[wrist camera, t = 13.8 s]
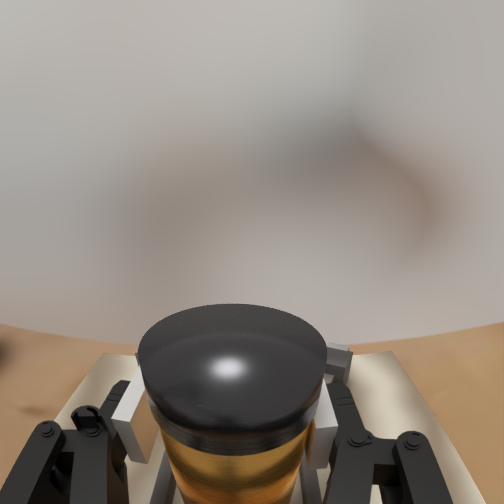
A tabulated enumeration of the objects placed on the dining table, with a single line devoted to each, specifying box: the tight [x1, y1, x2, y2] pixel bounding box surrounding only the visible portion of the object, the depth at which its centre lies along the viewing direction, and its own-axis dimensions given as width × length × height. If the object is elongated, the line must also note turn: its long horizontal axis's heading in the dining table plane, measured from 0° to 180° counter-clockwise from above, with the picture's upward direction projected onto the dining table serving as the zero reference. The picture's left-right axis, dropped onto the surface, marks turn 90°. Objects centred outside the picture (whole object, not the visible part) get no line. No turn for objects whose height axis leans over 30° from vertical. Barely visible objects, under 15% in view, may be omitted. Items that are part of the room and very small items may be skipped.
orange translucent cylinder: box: [138, 304, 327, 504], centre depth 11 cm, size 6×6×12 cm
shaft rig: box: [54, 343, 486, 504], centre depth 18 cm, size 30×20×4 cm
